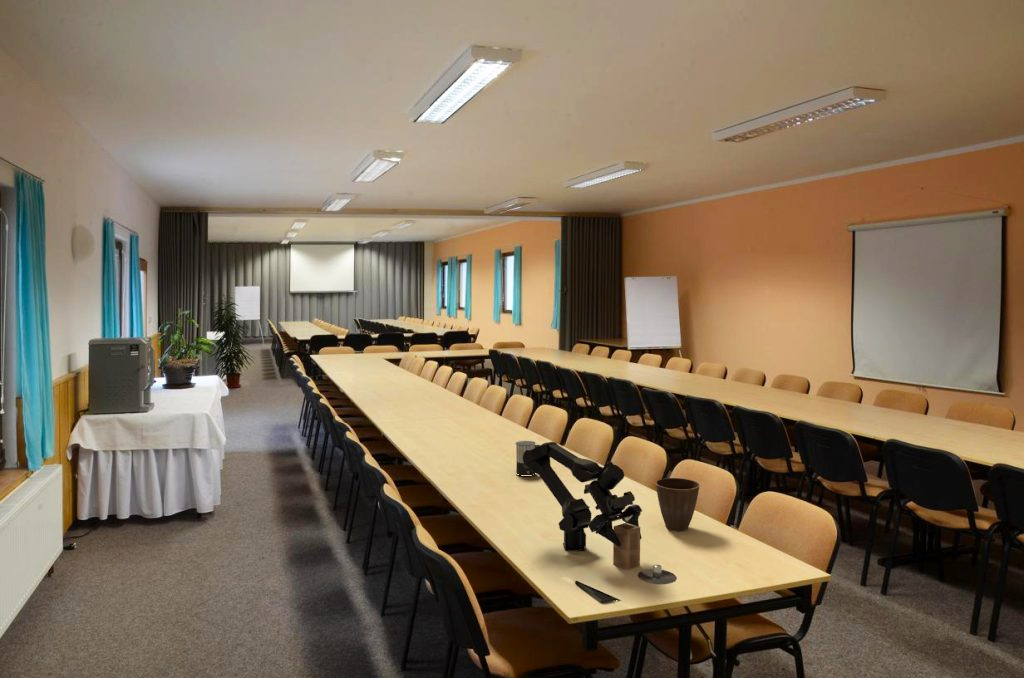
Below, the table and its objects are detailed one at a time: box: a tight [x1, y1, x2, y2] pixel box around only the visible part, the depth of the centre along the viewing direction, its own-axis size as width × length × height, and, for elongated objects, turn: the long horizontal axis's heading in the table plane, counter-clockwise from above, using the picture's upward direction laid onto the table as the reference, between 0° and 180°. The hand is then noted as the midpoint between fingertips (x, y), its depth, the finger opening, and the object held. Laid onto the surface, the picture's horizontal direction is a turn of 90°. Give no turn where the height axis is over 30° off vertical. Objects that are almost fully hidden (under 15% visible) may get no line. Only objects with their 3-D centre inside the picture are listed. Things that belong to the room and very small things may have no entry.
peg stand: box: [637, 564, 677, 585], centre depth 206 cm, size 11×11×4 cm
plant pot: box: [655, 477, 700, 532], centre depth 251 cm, size 15×15×16 cm
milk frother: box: [514, 440, 541, 475], centre depth 329 cm, size 14×16×15 cm
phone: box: [574, 580, 621, 604], centre depth 198 cm, size 8×1×15 cm
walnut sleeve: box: [612, 522, 641, 571], centre depth 214 cm, size 6×6×12 cm
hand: (630, 542), depth 213 cm, fingers open, 9 cm apart
